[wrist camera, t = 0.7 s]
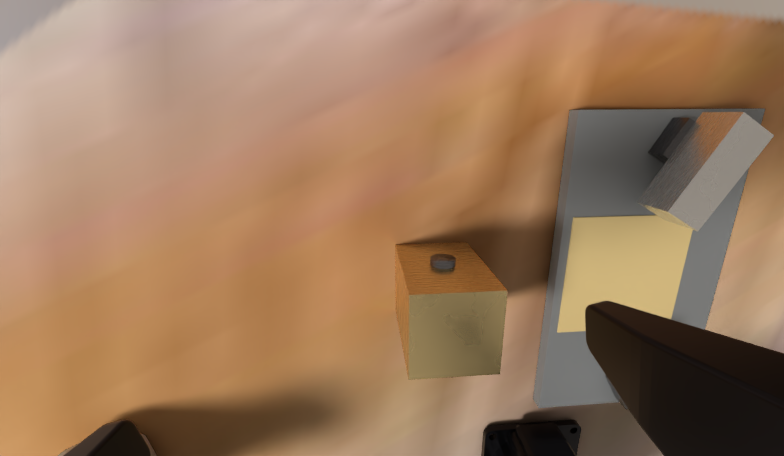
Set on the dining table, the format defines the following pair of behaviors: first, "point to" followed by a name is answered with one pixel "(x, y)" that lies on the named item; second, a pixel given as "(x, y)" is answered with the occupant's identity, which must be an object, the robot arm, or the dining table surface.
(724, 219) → the board
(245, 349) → the dining table surface
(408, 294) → the block
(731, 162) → the wood-capped gray bar
